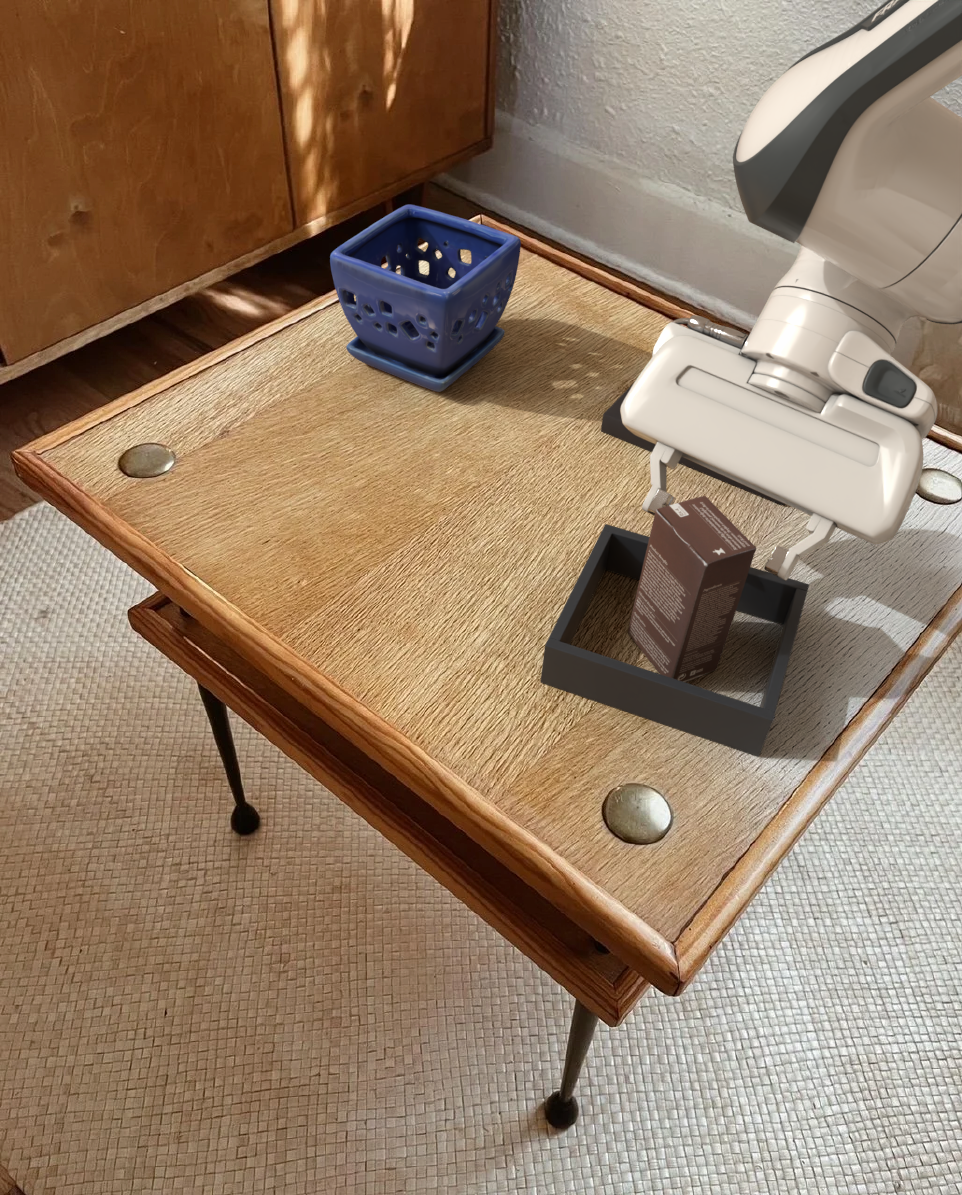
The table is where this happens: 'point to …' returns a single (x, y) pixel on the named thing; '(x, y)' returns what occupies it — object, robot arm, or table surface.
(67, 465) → the table surface
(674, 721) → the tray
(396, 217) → the flower pot
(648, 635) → the box
